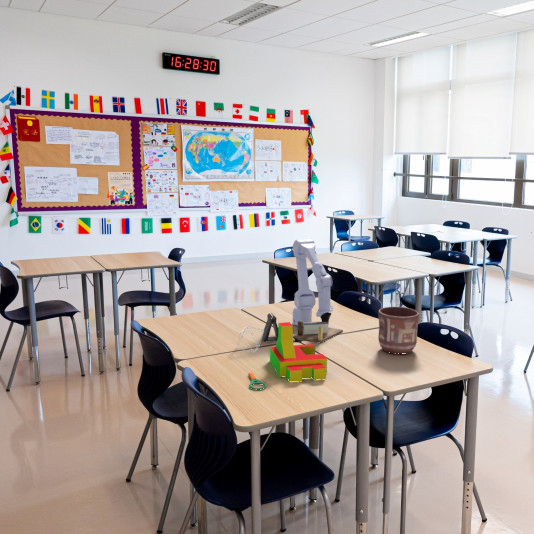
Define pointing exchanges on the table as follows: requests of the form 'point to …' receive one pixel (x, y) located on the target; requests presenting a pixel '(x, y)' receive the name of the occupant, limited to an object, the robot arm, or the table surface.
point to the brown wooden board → (313, 337)
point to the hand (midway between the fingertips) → (325, 327)
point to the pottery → (398, 329)
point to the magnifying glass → (255, 381)
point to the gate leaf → (314, 327)
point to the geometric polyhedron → (252, 335)
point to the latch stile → (320, 333)
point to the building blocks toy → (296, 357)
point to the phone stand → (268, 328)
